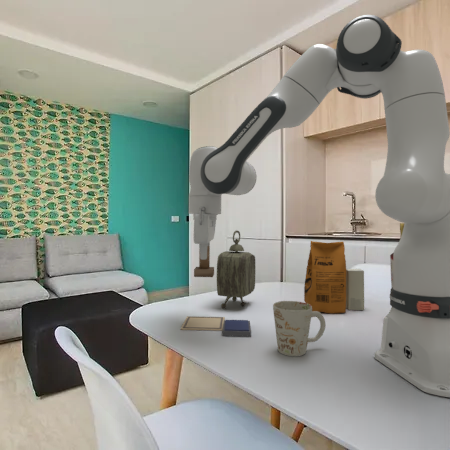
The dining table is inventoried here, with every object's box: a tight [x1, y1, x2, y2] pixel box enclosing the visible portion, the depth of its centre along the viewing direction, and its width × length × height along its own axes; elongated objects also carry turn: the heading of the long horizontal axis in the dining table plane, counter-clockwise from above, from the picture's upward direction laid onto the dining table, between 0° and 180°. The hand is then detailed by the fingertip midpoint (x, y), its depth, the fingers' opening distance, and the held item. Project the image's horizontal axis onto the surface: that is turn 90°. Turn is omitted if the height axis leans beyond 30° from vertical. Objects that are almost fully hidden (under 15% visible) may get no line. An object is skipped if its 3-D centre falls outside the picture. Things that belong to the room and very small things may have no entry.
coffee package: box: [303, 240, 347, 315], centre depth 107 cm, size 10×12×22 cm
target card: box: [180, 315, 226, 331], centre depth 91 cm, size 11×11×1 cm
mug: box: [272, 300, 326, 357], centre depth 74 cm, size 8×13×10 cm, turn 111°
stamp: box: [193, 246, 215, 278], centre depth 91 cm, size 5×5×8 cm
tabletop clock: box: [216, 230, 256, 309], centre depth 111 cm, size 14×9×25 cm, turn 160°
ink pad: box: [221, 319, 252, 338], centre depth 86 cm, size 9×7×2 cm
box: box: [346, 268, 365, 311], centre depth 109 cm, size 5×4×13 cm
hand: (204, 258), depth 91 cm, fingers closed on stamp, 3 cm apart
